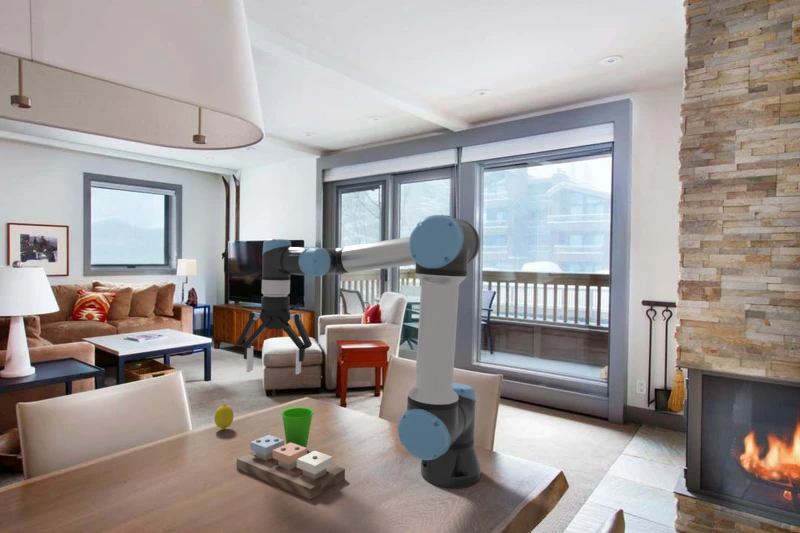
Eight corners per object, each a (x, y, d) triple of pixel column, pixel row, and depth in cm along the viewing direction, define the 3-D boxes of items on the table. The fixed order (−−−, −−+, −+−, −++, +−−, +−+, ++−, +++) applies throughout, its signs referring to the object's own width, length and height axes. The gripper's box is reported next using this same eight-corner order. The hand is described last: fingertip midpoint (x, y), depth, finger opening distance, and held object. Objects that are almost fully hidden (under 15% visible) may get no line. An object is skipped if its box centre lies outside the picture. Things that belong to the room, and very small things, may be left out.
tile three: (283, 456, 120) (284, 439, 120) (265, 464, 115) (265, 446, 115) (268, 450, 123) (268, 434, 123) (250, 458, 118) (250, 441, 118)
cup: (309, 458, 124) (310, 418, 123) (276, 457, 124) (276, 417, 124) (316, 444, 133) (316, 407, 132) (285, 443, 133) (285, 406, 133)
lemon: (236, 429, 143) (237, 403, 143) (221, 434, 138) (222, 408, 138) (225, 425, 146) (226, 400, 146) (210, 430, 141) (210, 404, 141)
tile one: (332, 474, 111) (332, 455, 111) (314, 484, 106) (315, 464, 106) (314, 467, 114) (314, 449, 114) (296, 477, 109) (296, 458, 109)
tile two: (306, 465, 115) (307, 447, 115) (289, 474, 110) (289, 455, 110) (290, 459, 119) (290, 441, 119) (272, 467, 114) (272, 449, 114)
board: (344, 478, 113) (344, 468, 113) (310, 499, 103) (310, 488, 102) (273, 452, 127) (273, 443, 127) (236, 468, 117) (236, 458, 117)
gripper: (323, 295, 128) (321, 370, 129) (237, 292, 130) (235, 366, 130) (317, 298, 121) (315, 377, 121) (225, 294, 122) (223, 373, 122)
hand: (273, 372), depth 126 cm, fingers open, 13 cm apart
